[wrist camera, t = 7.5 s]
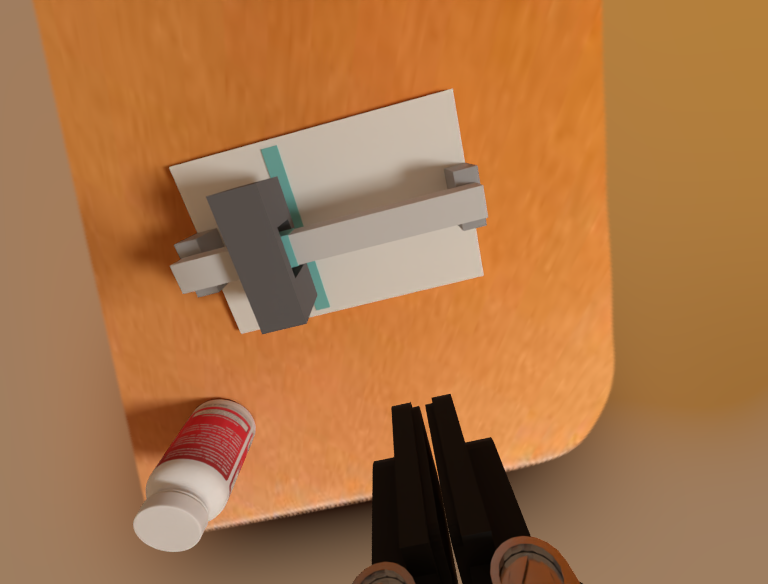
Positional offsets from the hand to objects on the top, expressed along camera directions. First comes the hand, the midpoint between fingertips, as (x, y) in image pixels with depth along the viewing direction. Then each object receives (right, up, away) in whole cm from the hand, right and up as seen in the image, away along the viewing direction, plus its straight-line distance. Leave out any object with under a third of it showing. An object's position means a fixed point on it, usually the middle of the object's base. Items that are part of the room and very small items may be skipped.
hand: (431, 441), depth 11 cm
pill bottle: (-17, -8, +27) cm, 33 cm away
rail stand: (-5, +10, +20) cm, 22 cm away
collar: (-9, +8, +17) cm, 21 cm away
